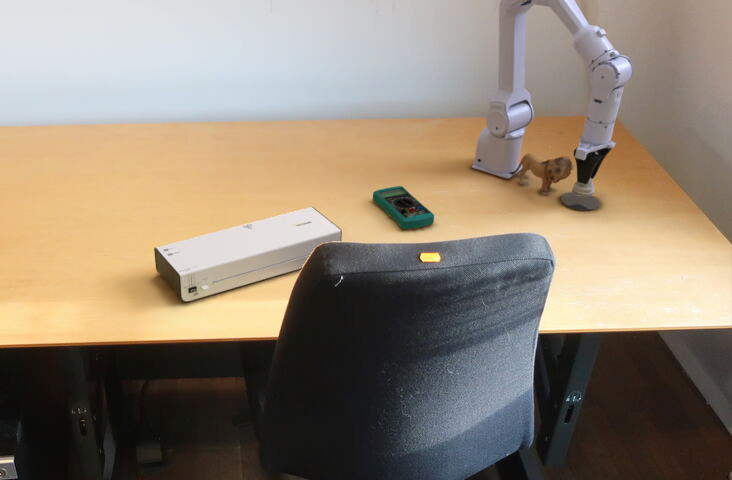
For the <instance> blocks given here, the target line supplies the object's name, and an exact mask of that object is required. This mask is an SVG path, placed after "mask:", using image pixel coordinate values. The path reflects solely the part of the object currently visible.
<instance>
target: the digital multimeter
mask: <svg viewBox="0 0 732 480" xmlns="http://www.w3.org/2000/svg"><path fill="white" fill-rule="evenodd" d="M372 201H373V202H374V203H375V204H376V205H378V206H379V207H380V208H381V209H382V210H383V211H384V212H385V213H386V214H387V215H388V216H389V217H390V218H391V219H392V220H393V221H394V222H395V223H396V224H397V225H398V226H399V227H400V228H401V229H402V230H403V231H404V230H411V229H418V228H424V227H426V226H430V225H432V224H434V222H435V221H434V220H435V214H434V213H433V212H432V211H431V210H429V209H428V208H427V207H426V206H425V205H424V204H422V203H421V201H419V200H418V199H416V198H415V196H413V195H412V194H411V193H410V192H409V191H408V190H407V189H406V188H404V186H402V185H397V186H390V187H385V188H381V189H377V190H375V191H373V192H372Z"/></svg>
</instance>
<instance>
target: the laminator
mask: <svg viewBox="0 0 732 480" xmlns="http://www.w3.org/2000/svg"><path fill="white" fill-rule="evenodd" d="M342 235H343V230H342V228H340V227H339V226H337V224H335V223H334V222H333V221H331V220H330V219H329V218H328V217H326V216H325V215H324V214H323V213H321V212H320V211H319V210H317V209H316V208H315V207H314V206H308V207H304V208H302V209H297V210H294V211H290V212H287V213H286V212H285V213H282V214H279V215H274V216H270V217H266V218H263V219H259V220H255V221H252V222H247V223H244V224H240V225H236V226H233V227H228V228H225V229H220V230H217V231H213V232H209V233H206V234H202V235H197V236H194V237H191V238H186V239H182V240H179V241H175V242H171V243H168V244H163V245H159V246H155V247H154V248H153V250H154V251H153V252H154V253H153V254H154V263H155V270H156V272H157V274H159V275H160V276H161V278H163V280H164V281H165V282H166V283H167V284H168V285H169V286H170V288H171V289H172V290H173V292H174V293H176V295H177V296H178V297H179V298H180V300H181V302H183V303H191V302H194V301H198V300H201V299H206V298H209V297H211V296H216V295H219V294H222V293H225V292H229V291H232V290H236V289H239V288H241V287H246V286H248V285H253V284H256V283H260V282H263V281H266V280H267V281H268V280H270V279H273V278H276V277H280V276H283V275H287V274H291V273H294V272H297V271H301V270H302V269H301V268H302V266H303V264H304V263H305V261H306V260H307V258H308V257H309V255H310V254H311V252H312V251H313V250H314V248H316V247H317V246H318V245H320V244H322V243H325V242H332V241H341V242H342V237H343V236H342Z"/></svg>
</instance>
